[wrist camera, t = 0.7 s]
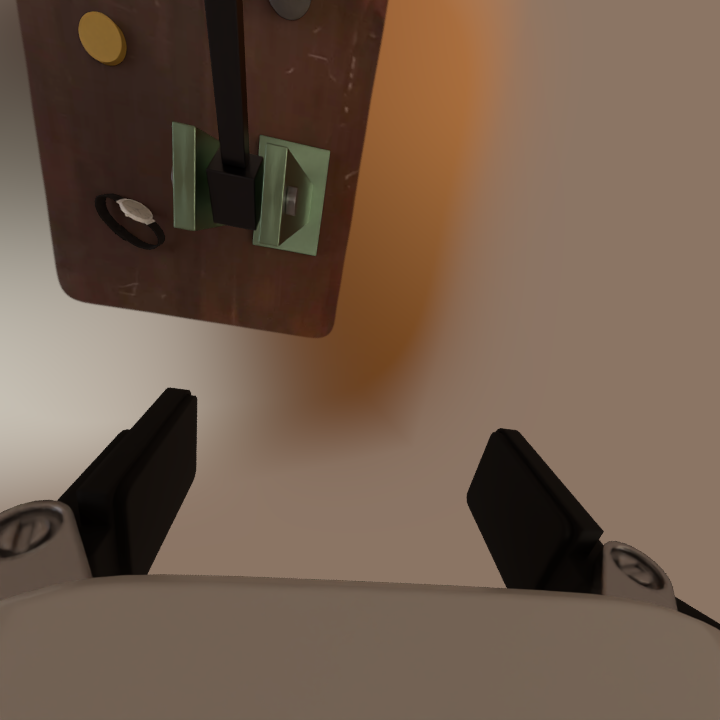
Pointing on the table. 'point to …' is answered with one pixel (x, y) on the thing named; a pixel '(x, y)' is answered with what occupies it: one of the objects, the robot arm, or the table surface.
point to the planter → (290, 8)
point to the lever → (232, 122)
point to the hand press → (279, 194)
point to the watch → (134, 212)
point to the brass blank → (102, 38)
